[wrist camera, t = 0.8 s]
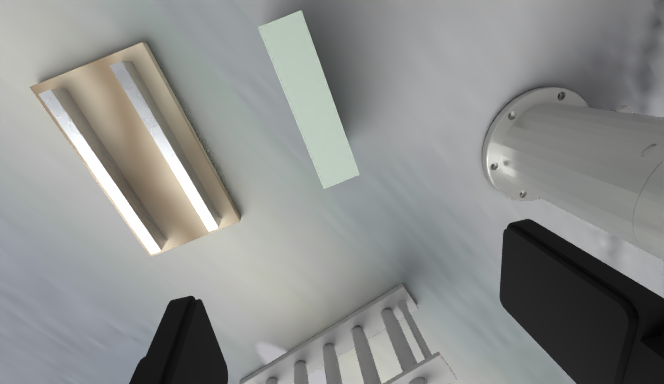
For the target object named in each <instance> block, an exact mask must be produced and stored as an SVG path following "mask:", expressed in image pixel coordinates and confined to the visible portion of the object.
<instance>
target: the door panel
mask: <svg viewBox="0 0 664 384" xmlns="http://www.w3.org/2000/svg"><path fill="white" fill-rule="evenodd" d="M258 29H259V31H260V34H261V36H262V39H263V41H264V44H265V46H266V48H267V51H268V53H269V56H270V58H271V61H272V63H273V66H274V68H275V71H276V73H277V75H278V78H279V80H280V83H281V85H282V88H283V90H284V93H285V95H286V97H287V100H288V102H289V105H290V107H291V110H292V112H293V115H294V117H295V119H296V122H297V124H298V127H299V129H300V132H301V134H302V137H303V139H304V142H305V144H306V146H307V149H308V151H309V154H310V156H311V159H312V161H313V164H314V166H315V168H316V171H317V173H318V176H319V178H320V181H321V183H322V186H323V188H324V189H325V188H328V187H330V186H333V185H335V184H338V183H340V182H343V181H345V180H348V179H350V178H353V177H355V176H358V175H360V174H359V172H358V169H357V166H356V163H355V160H354V157H353V155H352V152H351V149H350V146H349V143H348V140H347V138H346V135H345V132H344V129H343V126H342V123H341V121H340V118H339V115H338V112H337V109H336V106H335V104H334V101H333V98H332V95H331V92H330V89H329V87H328V84H327V81H326V78H325V75H324V72H323V70H322V67H321V64H320V61H319V58H318V55H317V53H316V50H315V47H314V44H313V41H312V39H311V36H310V33H309V30H308V27H307V24H306V22H305V19H304V16H303V13H302V10H300V11H298V12H295V13H293V14H290V15H288V16H285V17H283V18H280V19H278V20H275V21H273V22H270V23H268V24H265V25H263V26H260V27H258Z"/></svg>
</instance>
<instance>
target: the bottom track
mask: <svg viewBox="0 0 664 384" xmlns="http://www.w3.org/2000/svg"><path fill="white" fill-rule="evenodd" d="M30 88H31V90H32V91H33V92H34V94H35V95H36V97H37V98H38V99H39V101H40V102H41V104H42V105H43V107H44V108H45V109H46V111H47V112H48V114H49V115H50V116H51V118H52V119H53V121H54V122H55V123H56V125H57V126H58V128H59V129H60V130H61V132H62V133H63V135H64V136H65V138H66V139H67V140H68V142H69V143H70V145H71V146H72V147H73V149H74V150H75V152H76V153H77V154H78V156H79V157H80V159H81V160H82V161H83V163H84V164H85V166H86V167H87V169H88V170H89V171H90V173H91V174H92V176H93V177H94V178H95V180H96V181H97V183H98V184H99V185H100V187H101V188H102V190H103V191H104V192H105V194H106V195H107V197H108V198H109V200H110V201H111V202H112V204H113V205H114V207H115V208H116V209H117V211H118V212H119V214H120V215H121V216H122V218H123V219H124V221H125V222H126V223H127V225H128V226H129V228H130V229H131V231H132V232H133V233H134V235H135V236H136V238H137V239H138V240H139V242H140V243H141V245H142V246H143V247H144V249H145V250H146V252H147V253H148V254H149V256H150V257H152V256H155V255H157V254H160V253H162V252H165V251H167V250H170V249H172V248H175V247H177V246H180V245H182V244H185V243H187V242H190V241H192V240H195V239H197V238H200V237H202V236H205V235H207V234H210V233H212V232H215V231H217V230H220V229H222V228H225V227H227V226H230V225H232V224H235V223H237V222H240V219H241V216H240V214H239V213H238V211H237V209H236V207H235V205H234V203H233V202H232V200H231V198H230V196H229V194H228V192H227V190H226V189H225V187H224V185H223V183H222V181H221V179H220V178H219V176H218V174H217V172H216V170H215V168H214V167H213V165H212V163H211V161H210V159H209V157H208V155H207V154H206V152H205V150H204V148H203V146H202V144H201V143H200V141H199V139H198V137H197V135H196V133H195V131H194V130H193V128H192V126H191V124H190V122H189V120H188V119H187V117H186V115H185V113H184V111H183V109H182V107H181V106H180V104H179V102H178V100H177V98H176V96H175V95H174V93H173V91H172V89H171V87H170V85H169V83H168V82H167V80H166V78H165V76H164V74H163V72H162V71H161V69H160V67H159V65H158V63H157V61H156V59H155V58H154V56H153V54H152V52H151V50H150V48H149V47H148V45H147V43H143V42H141V43H139V44H136V45H134V46H131V47H129V48H126V49H124V50H121V51H119V52H116V53H114V54H111V55H109V56H106V57H104V58H101V59H99V60H96V61H94V62H91V63H89V64H86V65H84V66H81V67H79V68H76V69H74V70H71V71H69V72H66V73H64V74H61V75H59V76H56V77H54V78H51V79H49V80H46V81H44V82H41V83H39V84H36V85H34V86H31V87H30Z"/></svg>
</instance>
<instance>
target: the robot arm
mask: <svg viewBox="0 0 664 384" xmlns="http://www.w3.org/2000/svg"><path fill="white" fill-rule="evenodd" d="M482 162H483V169H484V172H485V175H486V178H487V179H488V181H489V182H490V184H491V185H492V186H493V187H494V188H495V189H496V190H497V191H498V192H500V193H502V194H503V195H505V196H507V197H509V198H512V199H514V200H519V201H532V200H536V199H541V198H542V199H544V200H546V201H548V202H550V203H551V204H553V205H555V206H557V207H559V208H561V209H563V210H565V211H567V212H569V213H571V214H573V215H575V216H577V217H579V218H581V219H583V220H585V221H587V222H589V223H591V224H593V225H595V226H597V227H599V228H601V229H603V230H604V231H606V232H608V233H610V234H612V235H614V236H616V237H618V238H620V239H622V240H624V241H626V242H628V243H630V244H632V245H634V246H636V247H638V248H640V249H642V250H644V251H646V252H648V253H650V254H652V255H654V256H656V257H658V258H659V259H661V260H663V261H664V118H662V117H655V116H647V115H640V114H632V113H631V109H630V108H629V107H628V106H626V105H623V106H620V107H617V108H615V109H612V110H603V109H595V108H589V106H588V104H587V103H586V102H585V100H584V99H583V98H582V97H581V96H579V95H578V94H577V93H575V92H573V91H571V90H568V89H565V88H558V87H543V88H537V89H533V90H531V91H528V92H526V93H523V94H522V95H520V96H519V97H517V98H515V99H514V100H513V101H511V102H510V103H509V104H508V105H507V106H506V107H504V109H503V110H502V111H501V112H500V113H499V114H498V116H497V117H496V118H495V120H494V122H493V123H492V125H491V127H490V129H489V131H488V133H487V136H486V138H485V142H484V146H483V155H482ZM500 301H501V303H502V305H503V307H504V308H505V309H506V310H507V312H508V313H509V314H510V315H511V316H512V317H513V318H514V319H515V320H516V321H517V322H518V323H519V324H520V325H521V326H522V327H523V328H524V329H525V330H526V331H527V332H528V333H529V334H530V336H531V337H532V338H533V339H534V340H535V341H536V342H537V343H538V344H539V345H540V346H541V347H542V348H543V349H544V350H545V351H546V352H547V353H548V354H549V355H550V356H551V357H552V358H553V360H554V361H555V362H556V363H557V364H558V365H559V366H560V367H561V368H562V369H563V370H564V371H565V372H566V373H567V374H568V375H569V376H570V377H571V378H572V379H573V380H574V381H575V382H576V384H664V298H662V297H661V296H659V295H657V294H656V293H654V292H652V291H651V290H649V289H647V288H646V287H644V286H642V285H640V284H639V283H637V282H635V281H634V280H632V279H630V278H629V277H627V276H625V275H624V274H622V273H620V272H619V271H617V270H615V269H614V268H612V267H610V266H608V265H607V264H605V263H603V262H602V261H600V260H598V259H597V258H595V257H593V256H592V255H590V254H588V253H587V252H585V251H583V250H582V249H580V248H578V247H576V246H575V245H573V244H571V243H570V242H568V241H566V240H565V239H563V238H561V237H560V236H558V235H556V234H555V233H553V232H551V231H550V230H548V229H546V228H545V227H543V226H541V225H539V224H538V223H536V222H534V221H533V220H530V219H525V220H521V221H516V222H512V223H510V224H509V225H508V226H507V229H505V230H504V233H503V248H502V265H501V282H500ZM227 382H228V370H227V365H226V363H225V360H224V357H223V355H222V352H221V349H220V347H219V344H218V342H217V339H216V336H215V334H214V331H213V328H212V326H211V323H210V320H209V318H208V315H207V313H206V310H205V307H204V305H203V302H202V300H201V299H198V300H195V298H194V297H193V296H188V297H183V298H179V299H175V300H171V301H170V302H169V304H168V306H167V308H166V311H165V313H164V315H163V318H162V320H161V322H160V325H159V327H158V329H157V331H156V334H155V336H154V338H153V341H152V343H151V345H150V348H149V350H148V352H147V355H146V357H144V358H142V359H141V360H140V362H139V363H138V365H137V367H136V370H135V372H134V374H133V376H132V378H131V381H130V383H129V384H227Z"/></svg>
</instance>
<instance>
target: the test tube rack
mask: <svg viewBox="0 0 664 384" xmlns="http://www.w3.org/2000/svg"><path fill="white" fill-rule="evenodd" d="M416 310H418V307H417V305H416V304H415V302H414V301H413V299H412V298H411V296H410V295H409V293H408V292H407V290H406V289H405V287H404V286H403V284H400V285H398V286H397V287H395V288H393V289H392V290H390V291H388V292H387V293H385V294H383V295H382V296H380V297H378V298H377V299H375V300H373V301H372V302H370V303H369V304H367V305H365V306H364V307H362V308H360V309H359V310H357V311H355V312H354V313H352V314H350V315H349V316H347V317H345V318H344V319H342V320H340V321H339V322H337V323H335V324H334V325H332V326H330V327H329V328H327V329H325V330H324V331H322V332H321V333H319V334H317V335H316V336H314V337H312V338H311V339H309V340H307V341H306V342H304V343H302V344H301V345H299V346H297V347H296V348H294V349H292V350H291V351H289V352H287V353H285V354H283V355H282V356H280V357H279V358H277V359H275V360H274V361H272V362H271V363H269V364H267V365H266V366H264V367H263V368H261V369H259V370H258V371H256V372H254V373H253V374H251V375H249V376H248V377H246V378H244V379H243V380H241V381H240V383H239V384H293V383H294V384H308V375H309V374H310V373H312V372H314V371H315V370H317V369H319V368H320V367H322V366H324V367H325V374H326V380H327V384H342V380H341V375H340V369H339V364H338V359H337V357H339V356H340V355H342V354H344V353H346V352H347V351H349V350H351V349H352V348H354V347H355V350H356V353H357V357H358V361H359V365H360V369H361V373H362V376H363V380H364V384H381V382H380V378H379V375H378V372H377V369H376V366H375V362H374V359H373V356H372V353H371V350H370V346H369V343H368V340H367V339H369V338H371V337H372V336H374V335H376V334H378V333H379V332H381V331H383V330H384V329H386V330H387V333H388V335H389V338H390V340H391V343H392V345H393V348H394V350H395V353H396V355H397V358H398V360H399V363H400V365H401V368H402V371H403V372H402V373H401V374H399V375H397V376H395V377H394V378H392V379H390V380H388V381H387V382H385V383H383V384H450V383H452V382H453V381H455V380H457V378H456V376H455V375H454V373H453V372H452V370H451V369H450V367H449V366H448V364H447V363H446V362H445V360H444V359H443V357H442V356H441V354H440V353H439V352H437V353H435V354H433V355H432V354H431V352H430V351H429V349H428V347H427V345H426V343H425V341H424V339H423V337H422V335H421V333H420V331H419V329H418V327H417V326H416V324H415V322H414V320H413V318H412V316H411V313H413V312H415V311H416ZM404 317H405V319H406V321H407V323H408V325H409V327H410V329H411V331H412V333H413V335H414V337H415V339H416V341H417V343H418V345H419V347H420V349H421V351H422V353H423V355H424V358H425V360H423V361H421V362H420V363H418V364H417V362H416V359H415V357H414V355H413V353H412V351H411V348H410V346H409V344H408V342H407V340H406V338H405V335H404V333H403V331H402V329H401V327H400V324H399V322H398V321H399V320H401V319H403V318H404ZM425 380H426V381H425Z"/></svg>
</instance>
